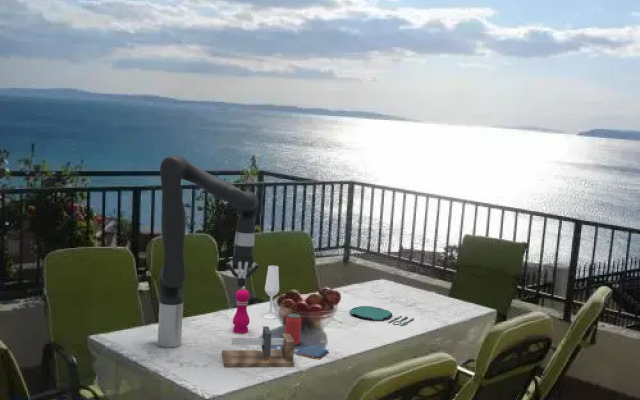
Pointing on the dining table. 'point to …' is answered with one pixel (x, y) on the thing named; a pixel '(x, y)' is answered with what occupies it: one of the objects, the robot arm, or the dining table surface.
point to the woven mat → (312, 352)
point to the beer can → (294, 327)
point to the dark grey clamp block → (266, 341)
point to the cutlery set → (376, 314)
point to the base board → (261, 356)
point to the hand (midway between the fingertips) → (240, 287)
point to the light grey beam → (257, 341)
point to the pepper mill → (241, 312)
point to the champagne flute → (272, 287)
